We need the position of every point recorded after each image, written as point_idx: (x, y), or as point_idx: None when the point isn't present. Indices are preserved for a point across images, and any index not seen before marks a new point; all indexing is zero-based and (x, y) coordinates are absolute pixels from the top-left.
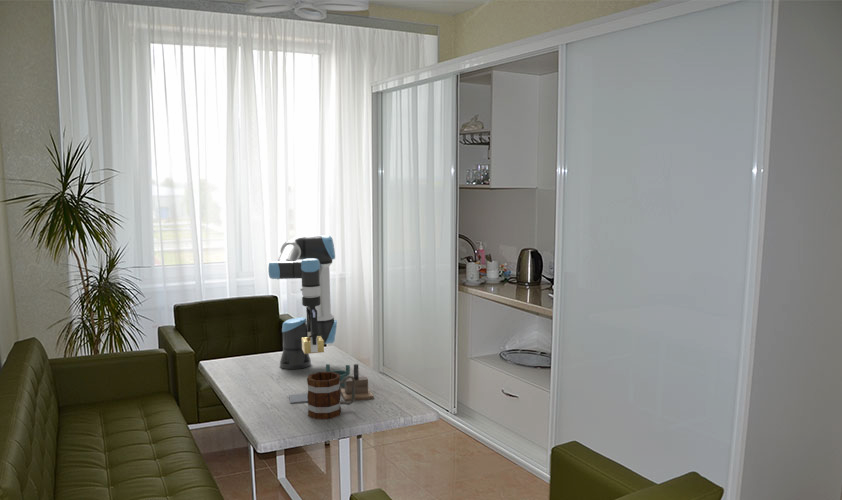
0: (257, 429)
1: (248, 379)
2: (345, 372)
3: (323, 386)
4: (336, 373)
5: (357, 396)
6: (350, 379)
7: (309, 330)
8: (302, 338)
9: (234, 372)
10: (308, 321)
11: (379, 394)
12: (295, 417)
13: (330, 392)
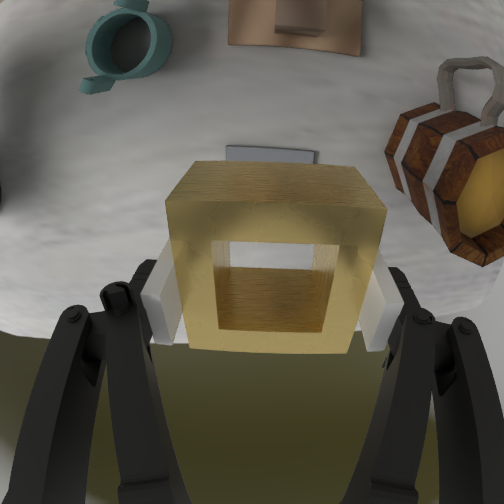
0: (429, 310)
1: (68, 292)
2: (117, 15)
3: None
4: (498, 140)
5: (350, 10)
6: (301, 6)
7: (146, 340)
8: (222, 349)
9: (31, 306)
10: (175, 458)
11: None
12: (417, 233)
13: None
